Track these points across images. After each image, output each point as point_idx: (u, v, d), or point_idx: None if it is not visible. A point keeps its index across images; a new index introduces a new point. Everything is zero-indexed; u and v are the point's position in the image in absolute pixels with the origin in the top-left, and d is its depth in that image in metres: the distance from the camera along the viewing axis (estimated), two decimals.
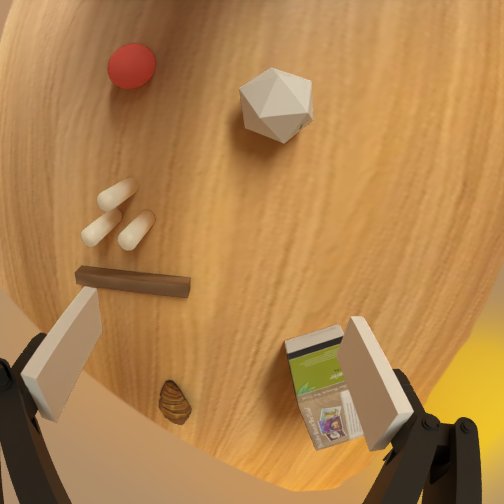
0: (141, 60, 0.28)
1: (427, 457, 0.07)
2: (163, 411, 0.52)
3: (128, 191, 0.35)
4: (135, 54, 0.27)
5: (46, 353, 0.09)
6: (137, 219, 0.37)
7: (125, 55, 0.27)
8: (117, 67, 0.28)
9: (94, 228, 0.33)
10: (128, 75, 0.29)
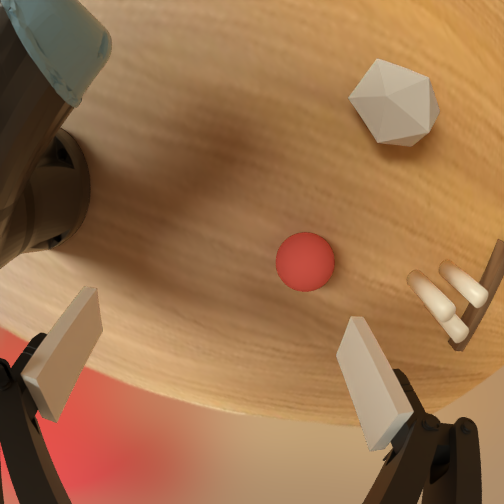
0: (313, 252, 0.28)
1: (427, 457, 0.07)
2: None
3: (432, 284, 0.31)
4: (304, 259, 0.28)
5: (46, 353, 0.09)
6: (456, 280, 0.31)
7: (302, 271, 0.28)
8: (313, 282, 0.29)
9: (456, 327, 0.29)
10: (327, 269, 0.29)
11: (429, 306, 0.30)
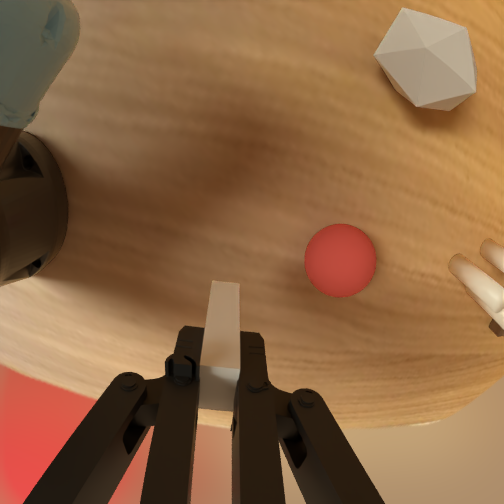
0: (353, 248, 0.22)
1: (269, 421, 0.09)
2: None
3: (479, 270, 0.25)
4: (342, 258, 0.22)
5: (216, 342, 0.12)
6: (502, 262, 0.25)
7: (341, 274, 0.22)
8: (356, 285, 0.22)
9: None
10: (370, 268, 0.22)
11: (480, 296, 0.23)
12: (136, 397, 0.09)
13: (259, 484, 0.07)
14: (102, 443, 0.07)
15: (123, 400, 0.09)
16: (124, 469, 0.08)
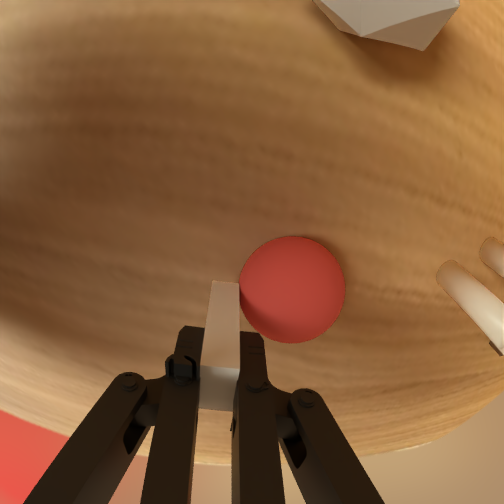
0: (321, 279, 0.15)
1: (268, 421, 0.09)
2: None
3: (479, 285, 0.17)
4: (310, 299, 0.14)
5: (216, 342, 0.12)
6: None
7: (311, 320, 0.15)
8: (328, 325, 0.16)
9: None
10: (343, 296, 0.16)
11: (480, 324, 0.16)
12: (136, 397, 0.09)
13: (259, 484, 0.07)
14: (102, 443, 0.07)
15: (123, 400, 0.09)
16: (124, 469, 0.08)
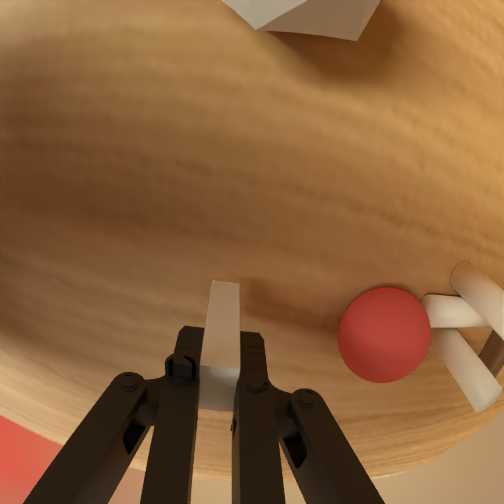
0: (368, 292, 0.18)
1: (268, 421, 0.09)
2: None
3: None
4: None
5: (216, 342, 0.12)
6: (482, 304, 0.16)
7: None
8: None
9: (481, 391, 0.14)
10: (347, 321, 0.17)
11: (481, 326, 0.19)
12: (136, 397, 0.09)
13: (259, 484, 0.07)
14: (102, 443, 0.07)
15: (123, 400, 0.09)
16: (124, 469, 0.08)
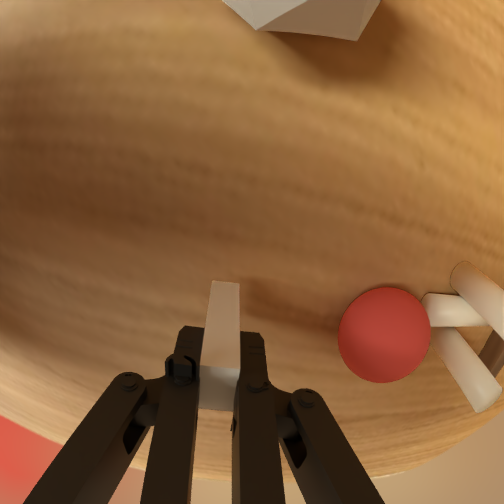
0: (368, 292, 0.18)
1: (268, 421, 0.09)
2: None
3: None
4: None
5: (216, 342, 0.12)
6: (482, 304, 0.16)
7: None
8: None
9: (482, 391, 0.14)
10: (347, 321, 0.17)
11: (482, 324, 0.19)
12: (136, 397, 0.09)
13: (259, 484, 0.07)
14: (102, 443, 0.07)
15: (123, 400, 0.09)
16: (124, 469, 0.08)
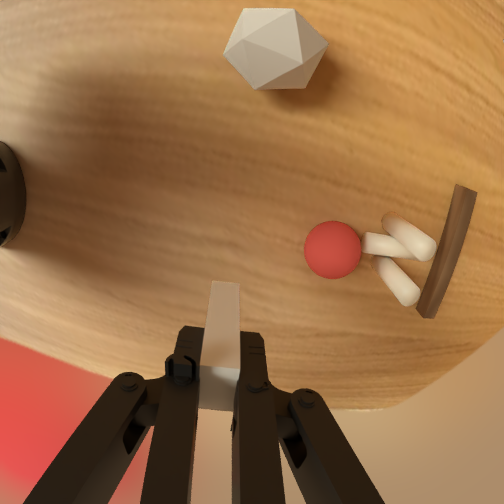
0: (320, 224, 0.32)
1: (268, 421, 0.09)
2: None
3: None
4: None
5: (216, 342, 0.12)
6: (397, 233, 0.30)
7: None
8: None
9: (402, 287, 0.28)
10: (307, 238, 0.31)
11: (410, 258, 0.33)
12: (136, 397, 0.09)
13: (259, 484, 0.07)
14: (102, 443, 0.07)
15: (123, 400, 0.09)
16: (124, 469, 0.08)
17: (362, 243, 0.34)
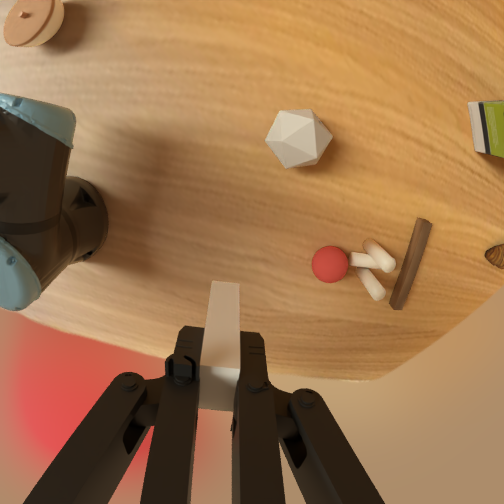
0: None
1: (268, 421, 0.09)
2: None
3: None
4: None
5: (216, 342, 0.12)
6: (372, 253, 0.48)
7: None
8: None
9: (373, 288, 0.46)
10: (314, 257, 0.49)
11: None
12: (136, 397, 0.09)
13: (259, 484, 0.07)
14: (102, 443, 0.07)
15: (123, 400, 0.09)
16: (124, 469, 0.08)
17: (349, 259, 0.52)
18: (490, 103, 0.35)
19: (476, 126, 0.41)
